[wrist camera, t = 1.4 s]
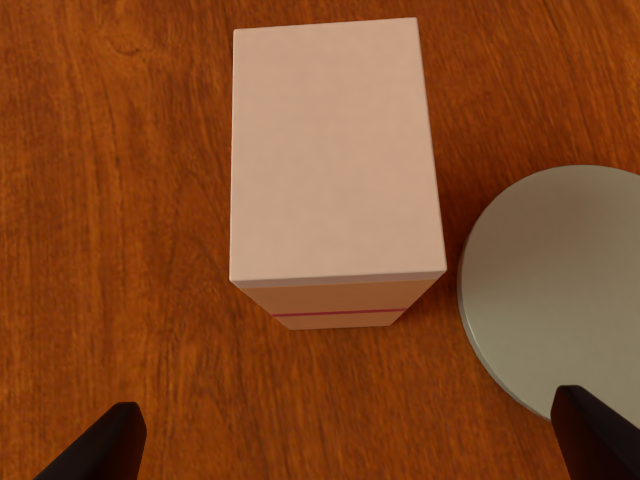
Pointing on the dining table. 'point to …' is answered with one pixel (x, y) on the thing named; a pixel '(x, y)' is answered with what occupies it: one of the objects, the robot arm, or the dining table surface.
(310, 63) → the cake slice
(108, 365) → the dining table surface
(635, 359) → the plate
